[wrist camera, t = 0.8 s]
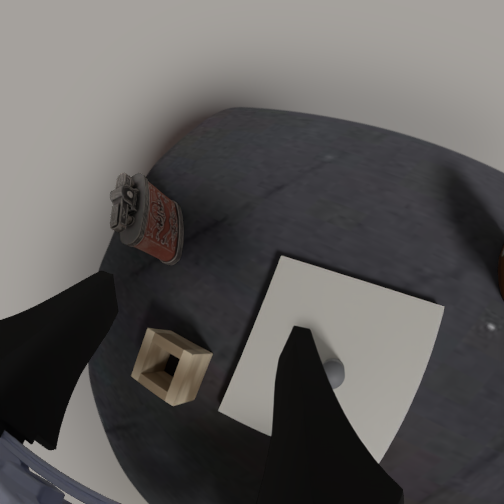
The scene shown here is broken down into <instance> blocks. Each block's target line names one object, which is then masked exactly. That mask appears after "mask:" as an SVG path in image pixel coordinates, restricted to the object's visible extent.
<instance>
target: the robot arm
mask: <svg viewBox="0 0 504 504" xmlns="http://www.w3.org/2000/svg"><path fill="white" fill-rule="evenodd" d="M117 313H118V306H117V299H116V293H115V286H114V278H113V275H112V274H109V273H107V272H104V271H99V272H97V273H96V274H93V275H92V276H90V277H88V278H86V279H84V280H82V281H81V282H79V283H77V284H75V285H74V286H72V287H70V288H68V289H66V290H65V291H63V292H61V293H59V294H58V295H56V296H54V297H52V298H50V299H48V300H46V301H44V302H42V303H40V304H38V305H36V306H34V307H32V308H30V309H28V310H26V311H23V312H21V313H19V314H16V315H14V316H11V317H8V318H5V319H2V320H0V504H72V503H70V502H68V501H66V500H65V499H64V496H65V495H64V493H63V492H62V491H60V490H59V489H58V488H60V489H61V490H63V491H65V492H66V493H68V494H70V495H71V496H73V497H74V498H76V499H78V500H80V501H81V502H83V503H85V504H120V503H118V502H116V501H114V500H111V499H109V498H107V497H105V496H103V495H101V494H99V493H97V492H95V491H93V490H91V489H89V488H87V487H86V486H84V485H82V484H80V483H78V482H77V481H75V480H73V479H72V478H70V477H68V476H66V475H65V474H64V473H62V472H60V471H59V470H57V469H56V468H54V467H53V466H51V465H50V464H48V463H47V462H45V461H44V460H43V459H41V458H40V457H38V456H37V455H35V454H34V453H33V452H32V451H30V450H29V449H28V448H27V447H25V446H24V445H23V442H24V440H26V441H28V442H29V443H30V444H33V442H34V440H35V441H37V442H38V443H39V444H41V445H42V446H44V447H45V448H46V449H48V450H54V449H56V446H57V441H58V436H59V432H60V427H61V424H62V421H63V417H64V414H65V411H66V408H67V405H68V403H69V400H70V397H71V395H72V392H73V390H74V388H75V386H76V384H77V381H78V379H79V377H80V375H81V373H82V371H83V370H84V368H85V366H86V365H87V363H88V362H89V360H90V359H91V357H92V356H93V354H94V353H95V351H96V350H97V348H98V346H99V345H100V343H101V342H102V340H103V339H104V337H105V336H106V334H107V333H108V331H109V329H110V327H111V325H112V323H113V321H114V319H115V317H116V315H117ZM28 466H29V467H30V468H31V469H32V470H34V471H35V472H36V473H38V474H39V475H41V476H42V477H43V478H45V479H46V480H45V479H43V478H41V477H40V476H38V475H36V474H34V473H32V472H31V471H30V470H29V467H28ZM47 480H48V481H49V482H48V481H47ZM50 482H51V483H52V484H51V483H50ZM53 484H54V485H55V486H57V487H58V488H57V487H55V486H54V485H53ZM256 504H404V495H403V489H402V488H401V487H400V486H399V485H398V484H397V483H396V482H395V481H394V480H393V479H392V478H391V477H390V476H389V475H388V474H387V473H386V472H385V471H384V470H383V468H382V467H381V466H380V465H379V464H378V462H377V461H376V460H375V459H374V458H373V456H372V455H371V453H370V452H369V451H368V449H367V448H366V447H365V445H364V444H363V442H362V441H361V440H360V438H359V437H358V435H357V433H356V432H355V430H354V429H353V427H352V425H351V424H350V422H349V420H348V418H347V417H346V415H345V413H344V411H343V409H342V407H341V405H340V403H339V401H338V399H337V397H336V395H335V393H334V391H333V388H332V386H331V384H330V382H329V379H328V377H327V374H326V372H325V369H324V367H323V364H322V361H321V359H320V356H319V353H318V350H317V347H316V344H315V341H314V338H313V335H312V332H311V330H310V329H309V328H304V327H299V326H295V325H294V326H293V328H292V331H291V333H290V335H289V337H288V339H287V341H286V344H285V346H284V348H283V350H282V352H281V354H280V356H279V360H278V365H277V371H276V377H275V386H274V404H273V421H272V434H271V442H270V447H269V453H268V458H267V463H266V467H265V472H264V476H263V480H262V484H261V488H260V492H259V496H258V500H257V503H256Z"/></svg>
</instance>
